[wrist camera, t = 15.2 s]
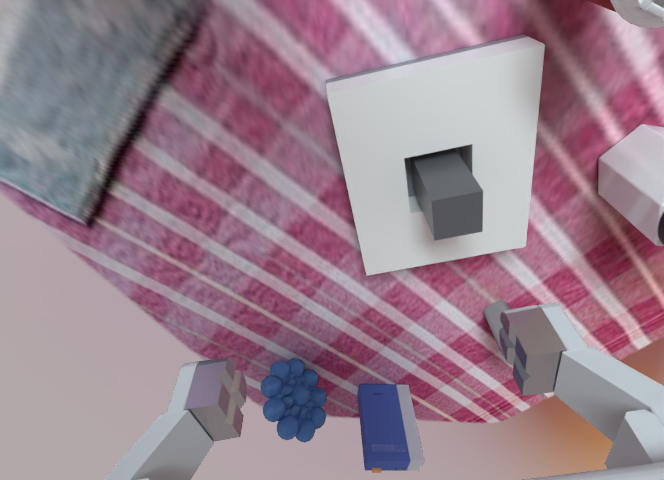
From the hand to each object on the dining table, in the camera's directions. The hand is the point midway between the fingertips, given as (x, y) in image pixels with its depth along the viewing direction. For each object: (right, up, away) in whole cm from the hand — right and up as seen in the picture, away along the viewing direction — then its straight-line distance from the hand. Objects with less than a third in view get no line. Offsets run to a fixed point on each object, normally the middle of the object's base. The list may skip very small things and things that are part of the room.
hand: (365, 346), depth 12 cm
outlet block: (+9, +11, +28) cm, 32 cm away
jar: (+30, +11, +29) cm, 44 cm away
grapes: (-7, -15, +47) cm, 50 cm away
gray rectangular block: (+9, +10, +28) cm, 31 cm away
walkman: (+7, -20, +52) cm, 56 cm away
